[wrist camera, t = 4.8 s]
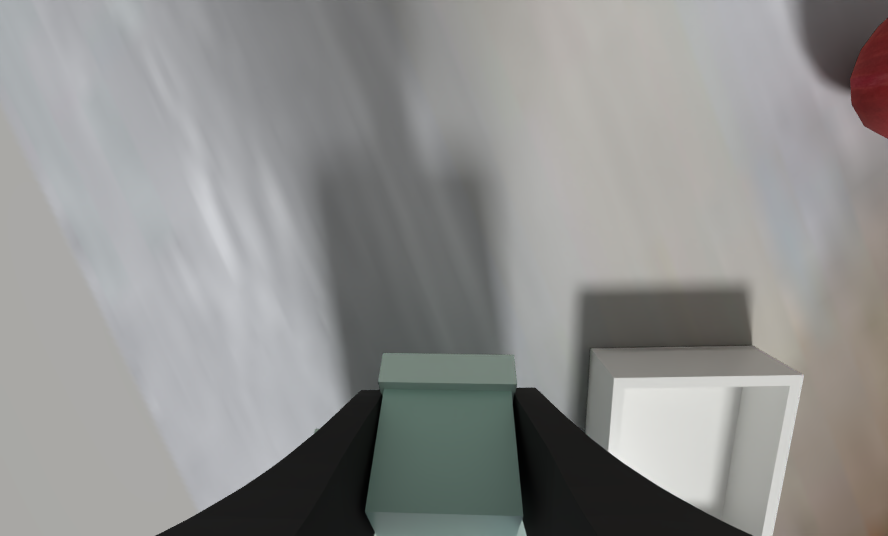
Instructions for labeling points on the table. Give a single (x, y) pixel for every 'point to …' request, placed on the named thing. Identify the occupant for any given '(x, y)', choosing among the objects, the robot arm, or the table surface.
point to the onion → (872, 82)
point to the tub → (699, 424)
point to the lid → (446, 447)
